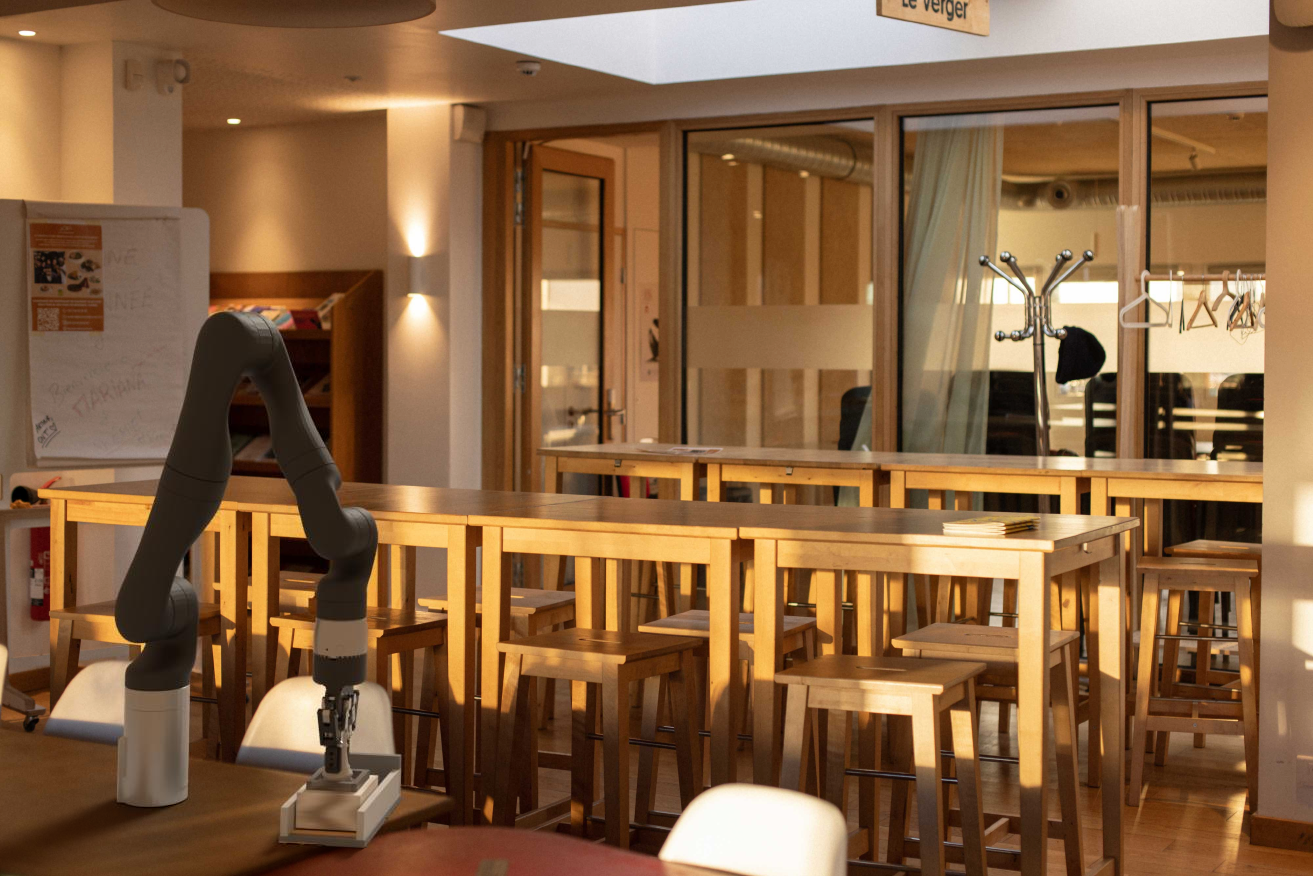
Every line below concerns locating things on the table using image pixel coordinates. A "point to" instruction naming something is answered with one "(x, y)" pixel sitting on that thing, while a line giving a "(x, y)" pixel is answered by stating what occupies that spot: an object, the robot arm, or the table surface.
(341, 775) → the rook chess piece
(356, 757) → the crate bay
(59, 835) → the table surface
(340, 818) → the frame
